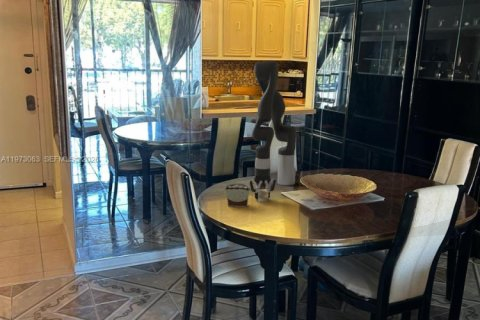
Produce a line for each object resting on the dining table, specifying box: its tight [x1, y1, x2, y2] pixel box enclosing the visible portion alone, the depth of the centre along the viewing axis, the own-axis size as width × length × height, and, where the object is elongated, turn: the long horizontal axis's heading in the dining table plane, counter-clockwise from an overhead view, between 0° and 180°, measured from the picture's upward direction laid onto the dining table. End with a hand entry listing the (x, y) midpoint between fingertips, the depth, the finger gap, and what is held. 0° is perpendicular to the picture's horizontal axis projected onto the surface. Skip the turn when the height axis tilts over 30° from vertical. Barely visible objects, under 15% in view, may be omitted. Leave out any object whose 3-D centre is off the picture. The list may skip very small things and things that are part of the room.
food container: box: [224, 182, 251, 208], centre depth 217 cm, size 12×6×10 cm, turn 84°
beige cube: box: [256, 188, 269, 203], centre depth 223 cm, size 5×5×5 cm
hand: (262, 199), depth 224 cm, fingers closed on beige cube, 5 cm apart
